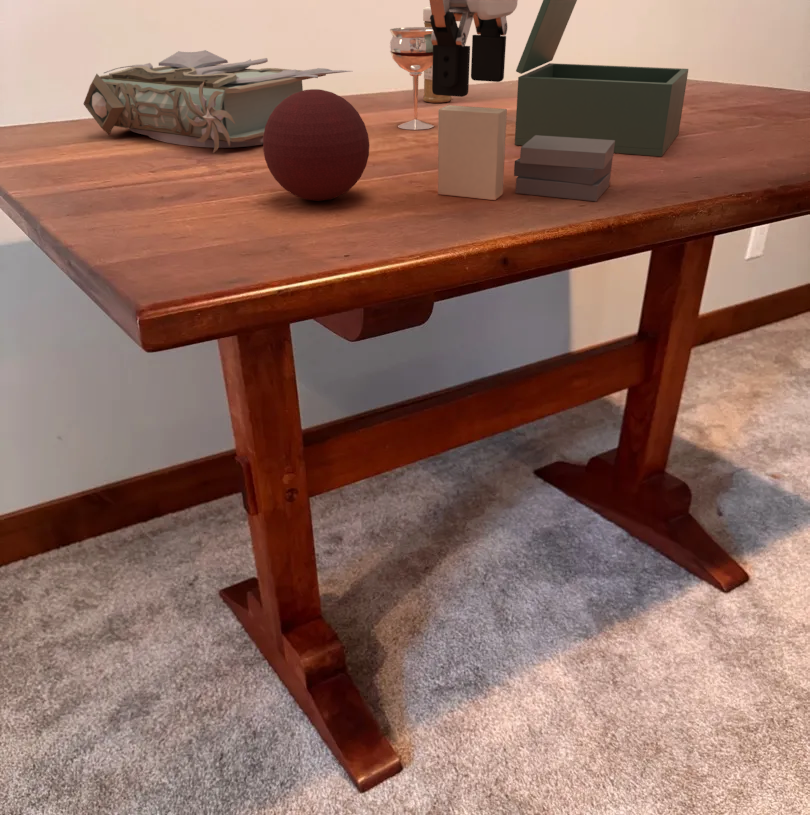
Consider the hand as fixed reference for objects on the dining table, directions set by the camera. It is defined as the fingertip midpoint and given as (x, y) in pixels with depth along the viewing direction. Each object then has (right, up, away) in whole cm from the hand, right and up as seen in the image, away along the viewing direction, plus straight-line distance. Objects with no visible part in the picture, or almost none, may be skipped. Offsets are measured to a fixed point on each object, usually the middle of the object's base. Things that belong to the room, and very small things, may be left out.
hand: (469, 87), depth 74 cm
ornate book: (-31, +7, +34) cm, 46 cm away
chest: (+18, +4, +26) cm, 32 cm away
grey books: (+10, -8, +6) cm, 14 cm away
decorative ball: (-14, -9, +4) cm, 18 cm away
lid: (+13, +20, +20) cm, 31 cm away
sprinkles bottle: (-1, +19, +53) cm, 56 cm away
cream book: (+1, -9, +5) cm, 10 cm away
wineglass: (-4, +9, +36) cm, 37 cm away
